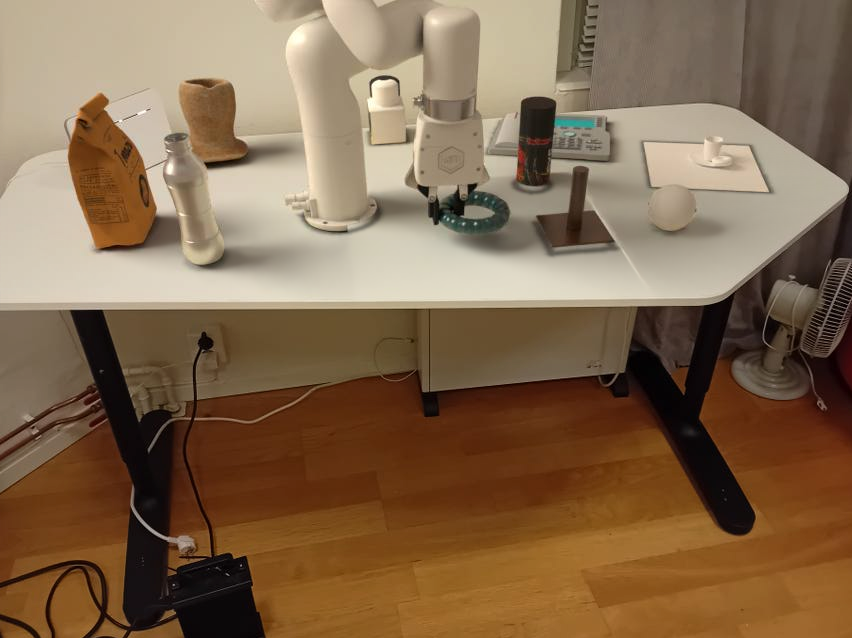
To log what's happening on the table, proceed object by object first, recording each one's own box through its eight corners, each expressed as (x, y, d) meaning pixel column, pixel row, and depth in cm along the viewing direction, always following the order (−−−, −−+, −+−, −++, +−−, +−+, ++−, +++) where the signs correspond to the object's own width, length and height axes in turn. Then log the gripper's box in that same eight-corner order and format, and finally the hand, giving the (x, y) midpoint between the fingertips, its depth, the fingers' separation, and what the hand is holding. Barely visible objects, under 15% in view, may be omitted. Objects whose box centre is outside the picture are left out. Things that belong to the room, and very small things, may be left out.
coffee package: (168, 214, 128) (134, 88, 114) (146, 251, 119) (106, 118, 105) (113, 215, 129) (71, 89, 115) (86, 251, 119) (38, 119, 105)
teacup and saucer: (736, 171, 134) (741, 150, 132) (691, 169, 136) (695, 148, 133) (728, 152, 141) (733, 131, 139) (685, 150, 142) (690, 130, 140)
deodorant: (547, 193, 130) (555, 109, 121) (514, 191, 131) (519, 108, 122) (549, 178, 135) (557, 97, 125) (517, 176, 136) (522, 95, 126)
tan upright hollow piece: (249, 141, 152) (236, 67, 143) (248, 165, 143) (234, 88, 134) (175, 148, 151) (156, 74, 141) (169, 173, 142) (149, 95, 132)
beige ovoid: (697, 238, 116) (707, 196, 112) (649, 239, 117) (658, 197, 112) (681, 209, 124) (690, 168, 120) (637, 209, 125) (644, 169, 120)
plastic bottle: (189, 273, 113) (156, 150, 100) (182, 253, 118) (149, 133, 105) (231, 263, 115) (203, 141, 102) (222, 244, 120) (194, 125, 107)
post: (551, 254, 114) (557, 186, 107) (535, 223, 122) (540, 158, 115) (613, 248, 115) (624, 180, 108) (593, 218, 123) (602, 152, 115)
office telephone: (487, 142, 142) (502, 104, 157) (487, 155, 144) (501, 116, 159) (610, 148, 138) (613, 109, 153) (608, 161, 139) (611, 121, 154)
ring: (442, 240, 110) (443, 226, 109) (432, 203, 119) (432, 190, 117) (516, 235, 111) (518, 221, 110) (501, 199, 120) (502, 186, 118)
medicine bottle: (369, 131, 155) (365, 73, 147) (402, 129, 155) (400, 71, 147) (371, 145, 149) (367, 85, 141) (406, 142, 149) (403, 83, 142)
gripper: (394, 117, 99) (396, 235, 111) (512, 112, 101) (501, 229, 113) (389, 97, 105) (392, 211, 117) (500, 91, 106) (492, 205, 118)
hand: (445, 219), depth 114 cm, fingers closed on ring, 2 cm apart
